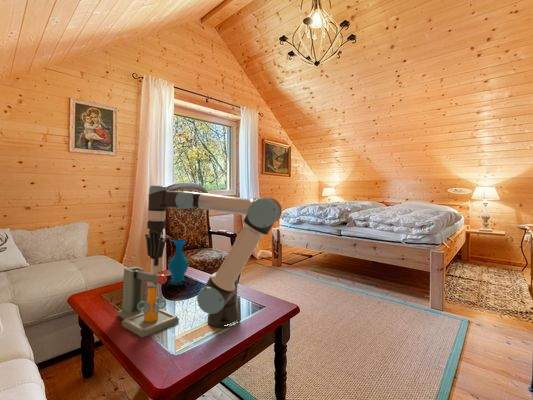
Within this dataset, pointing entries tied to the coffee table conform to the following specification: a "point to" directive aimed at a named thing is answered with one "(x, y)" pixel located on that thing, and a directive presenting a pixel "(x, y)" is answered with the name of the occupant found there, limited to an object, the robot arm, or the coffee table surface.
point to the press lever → (150, 278)
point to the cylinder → (151, 305)
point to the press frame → (135, 316)
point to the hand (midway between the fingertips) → (154, 272)
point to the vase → (178, 263)
